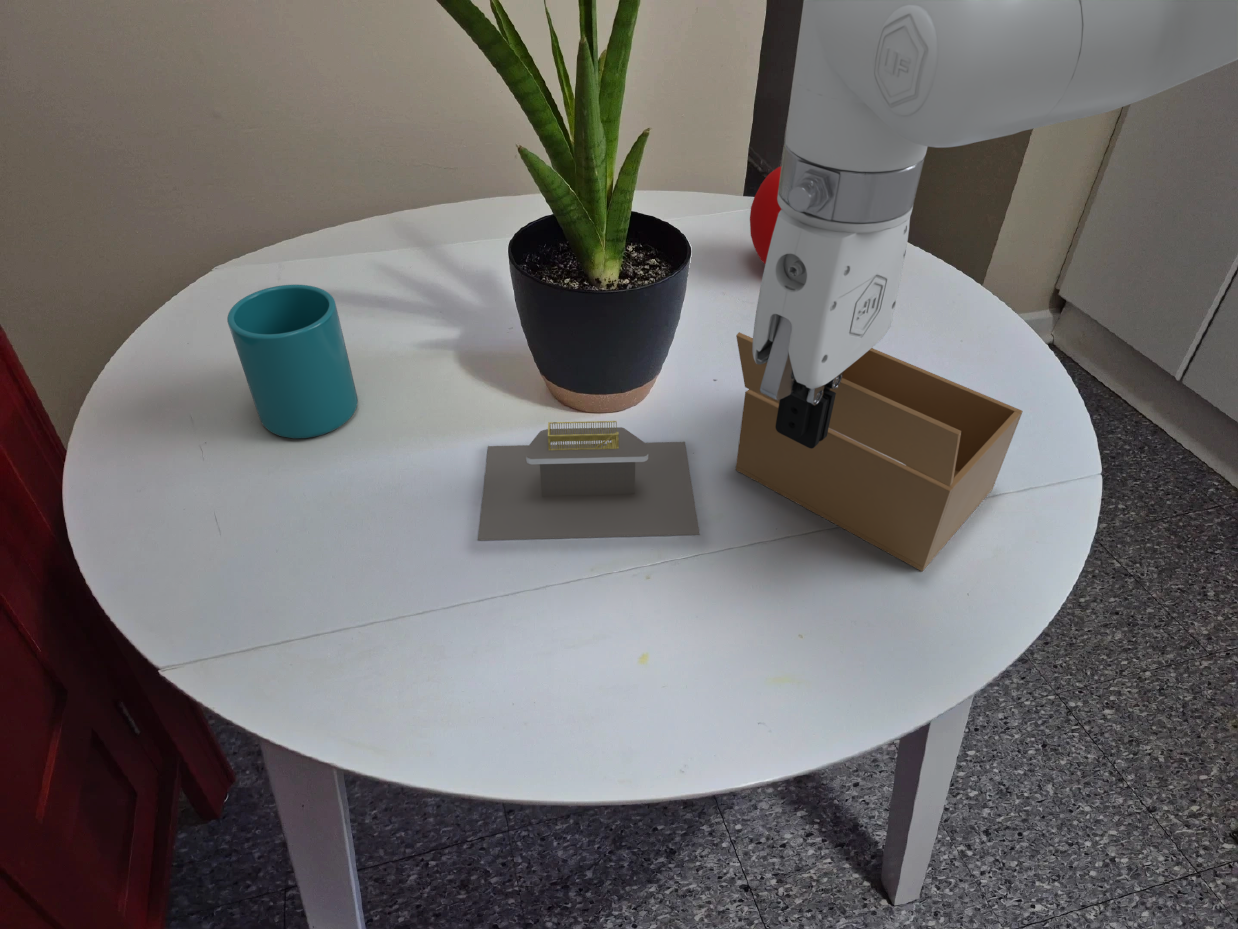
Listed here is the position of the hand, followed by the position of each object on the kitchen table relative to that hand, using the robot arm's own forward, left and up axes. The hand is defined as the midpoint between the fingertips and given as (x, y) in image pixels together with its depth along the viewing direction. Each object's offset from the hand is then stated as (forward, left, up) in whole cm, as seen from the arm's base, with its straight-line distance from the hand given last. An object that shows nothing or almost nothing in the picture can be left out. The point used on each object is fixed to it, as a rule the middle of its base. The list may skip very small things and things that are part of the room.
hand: (800, 434), depth 60 cm
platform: (+17, +4, -13) cm, 22 cm away
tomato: (+26, -41, -13) cm, 50 cm away
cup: (+45, +13, -13) cm, 48 cm away
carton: (0, -13, -13) cm, 18 cm away
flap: (0, -6, 0) cm, 6 cm away
